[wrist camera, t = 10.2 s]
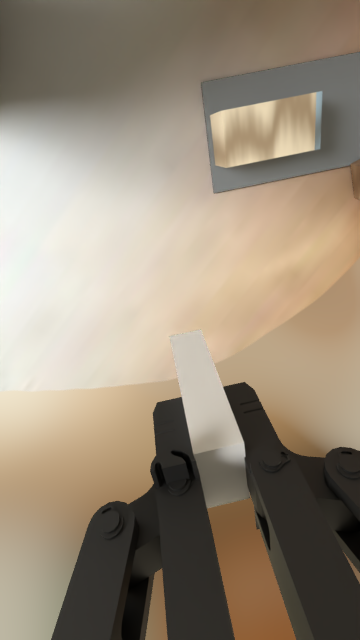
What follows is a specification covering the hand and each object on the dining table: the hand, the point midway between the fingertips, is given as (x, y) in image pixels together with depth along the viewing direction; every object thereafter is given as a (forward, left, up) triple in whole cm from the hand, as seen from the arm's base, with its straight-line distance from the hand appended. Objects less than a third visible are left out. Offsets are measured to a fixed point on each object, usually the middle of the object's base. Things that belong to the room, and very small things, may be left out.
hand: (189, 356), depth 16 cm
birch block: (-8, +19, -26) cm, 33 cm away
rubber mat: (-8, +18, -28) cm, 34 cm away
